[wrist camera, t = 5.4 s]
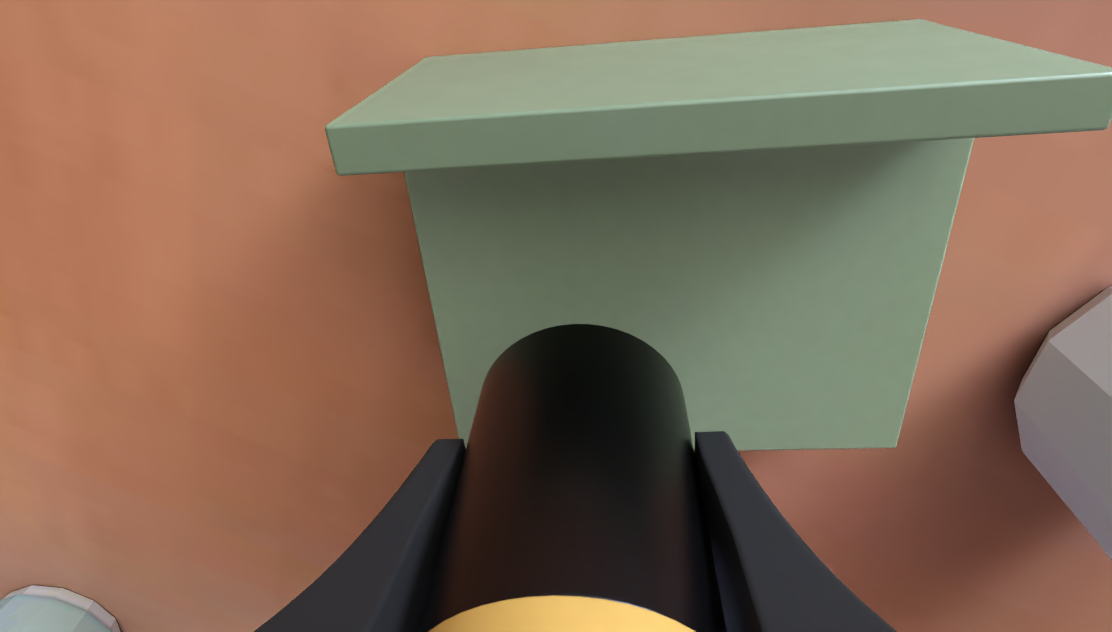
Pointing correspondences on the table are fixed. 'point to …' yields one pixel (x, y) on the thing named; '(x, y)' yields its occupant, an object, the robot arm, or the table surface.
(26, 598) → the disposable coffee cup
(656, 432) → the canister
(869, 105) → the shelf
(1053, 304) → the table surface
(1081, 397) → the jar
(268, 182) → the table surface
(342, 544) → the table surface
